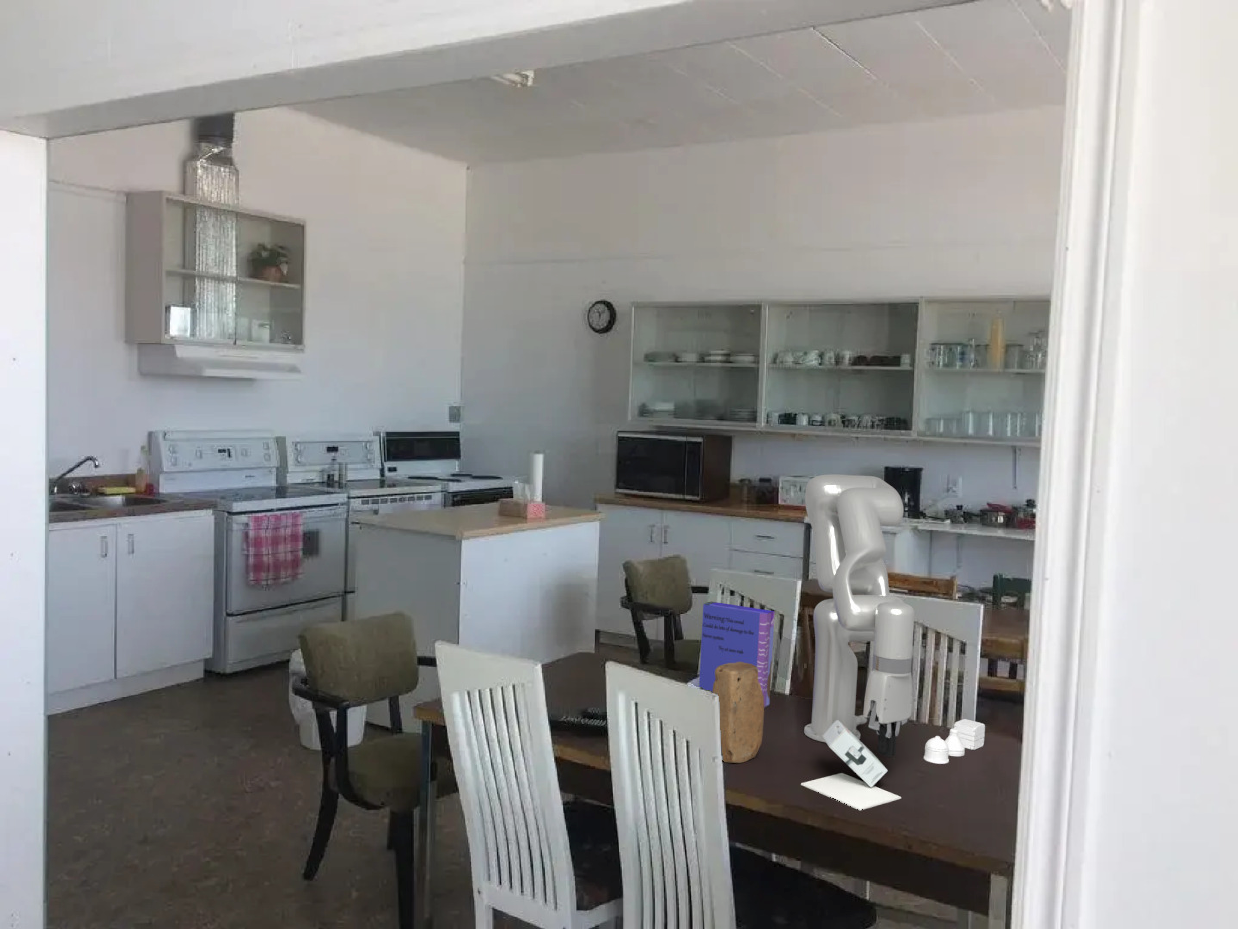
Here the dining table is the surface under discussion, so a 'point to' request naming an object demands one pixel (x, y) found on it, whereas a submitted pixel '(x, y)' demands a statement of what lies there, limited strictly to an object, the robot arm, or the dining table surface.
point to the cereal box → (736, 642)
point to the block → (739, 710)
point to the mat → (851, 791)
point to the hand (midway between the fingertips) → (886, 754)
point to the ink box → (854, 753)
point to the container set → (955, 741)
